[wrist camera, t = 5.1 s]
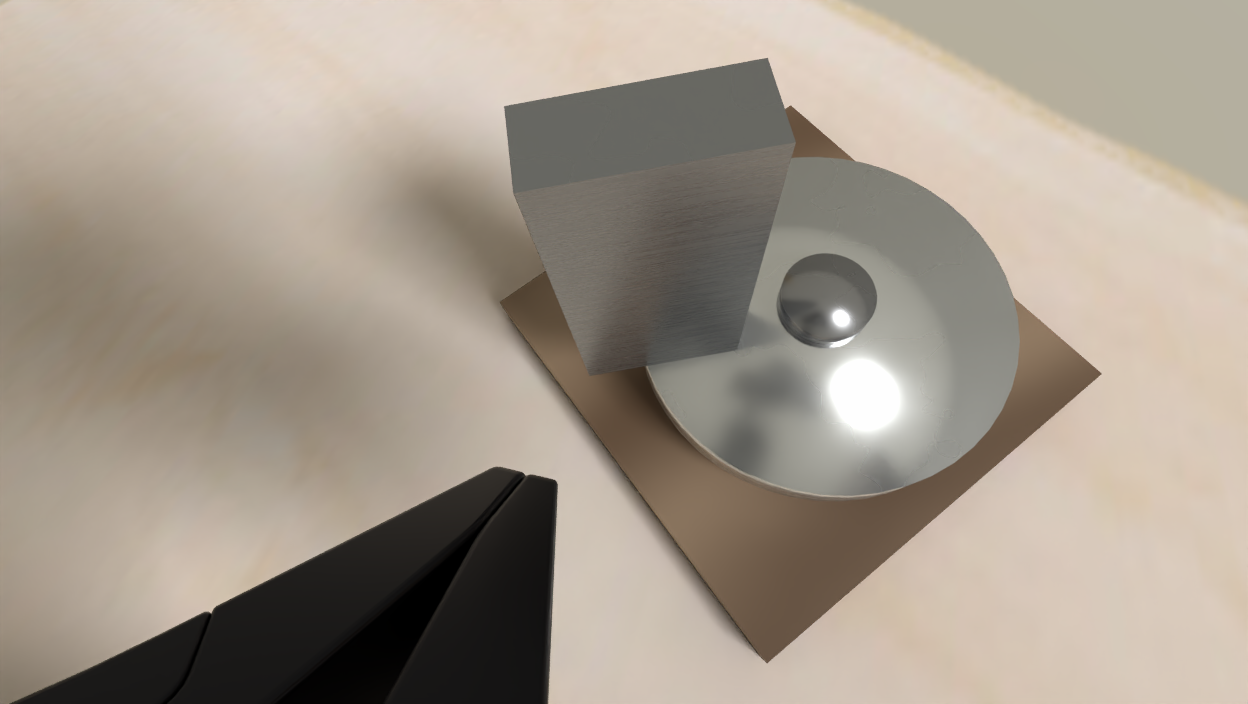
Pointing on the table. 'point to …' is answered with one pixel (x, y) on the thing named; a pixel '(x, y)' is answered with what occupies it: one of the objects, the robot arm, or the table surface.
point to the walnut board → (766, 521)
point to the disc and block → (765, 283)
